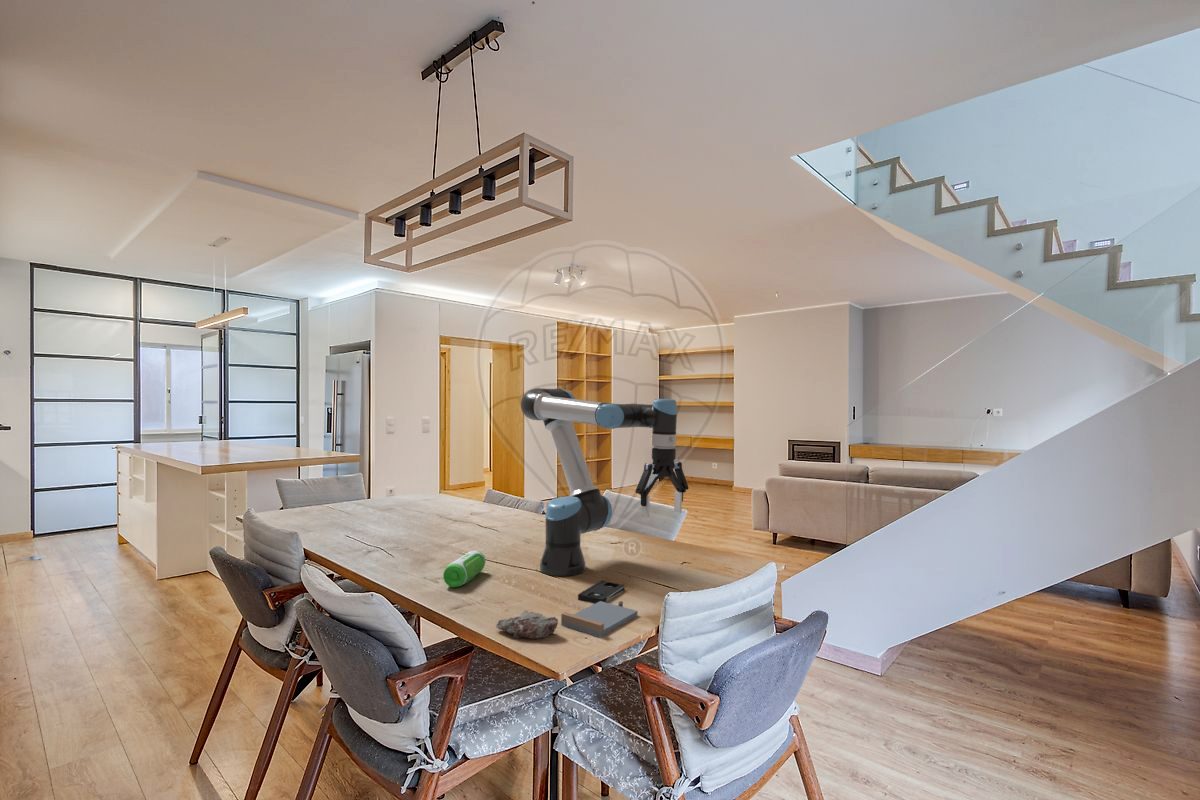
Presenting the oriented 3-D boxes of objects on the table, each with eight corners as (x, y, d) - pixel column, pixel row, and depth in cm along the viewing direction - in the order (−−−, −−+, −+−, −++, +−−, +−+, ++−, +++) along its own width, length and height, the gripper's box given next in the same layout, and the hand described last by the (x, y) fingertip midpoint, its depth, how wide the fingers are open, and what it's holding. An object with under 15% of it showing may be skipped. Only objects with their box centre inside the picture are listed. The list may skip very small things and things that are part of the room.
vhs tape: (602, 606, 156) (602, 599, 156) (577, 601, 160) (578, 594, 160) (624, 591, 169) (625, 584, 169) (601, 586, 173) (601, 580, 173)
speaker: (464, 590, 167) (464, 565, 167) (441, 588, 168) (441, 563, 168) (486, 572, 184) (487, 549, 184) (466, 571, 186) (466, 548, 186)
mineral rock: (492, 634, 136) (492, 616, 136) (512, 622, 143) (512, 605, 143) (542, 648, 129) (543, 628, 129) (561, 635, 136) (561, 617, 136)
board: (561, 624, 142) (561, 613, 142) (603, 603, 157) (603, 593, 157) (600, 637, 135) (600, 625, 135) (640, 613, 150) (640, 603, 150)
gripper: (640, 450, 169) (638, 520, 169) (700, 447, 183) (698, 512, 183) (625, 447, 175) (623, 515, 175) (684, 445, 189) (682, 508, 190)
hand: (661, 514), depth 179 cm, fingers open, 13 cm apart
